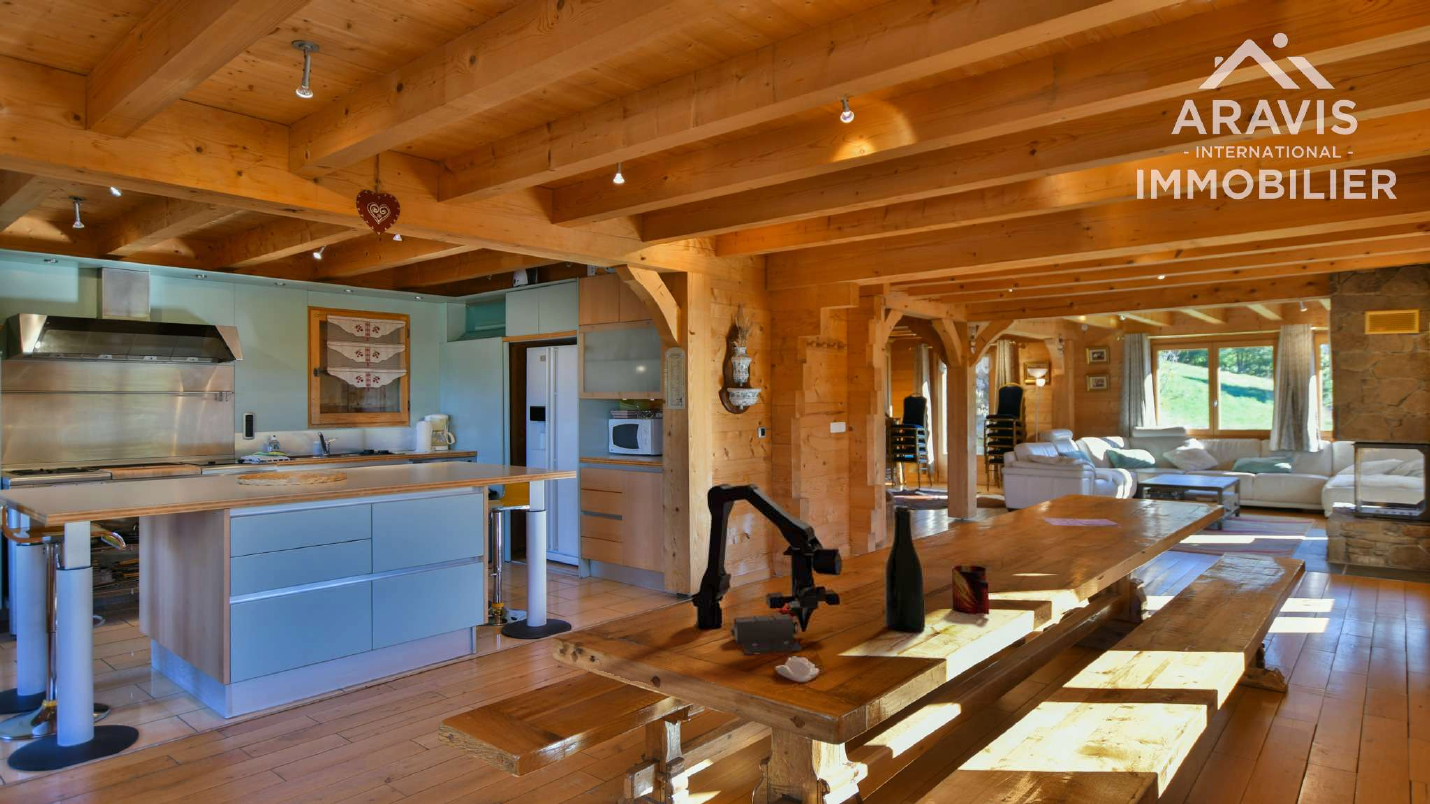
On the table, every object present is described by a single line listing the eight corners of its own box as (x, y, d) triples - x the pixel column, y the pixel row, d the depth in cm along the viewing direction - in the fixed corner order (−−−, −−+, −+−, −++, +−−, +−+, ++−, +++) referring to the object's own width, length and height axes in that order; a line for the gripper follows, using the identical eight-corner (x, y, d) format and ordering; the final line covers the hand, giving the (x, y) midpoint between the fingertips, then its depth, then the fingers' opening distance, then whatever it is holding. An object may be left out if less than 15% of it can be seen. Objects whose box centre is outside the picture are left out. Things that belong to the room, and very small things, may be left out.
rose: (771, 662, 178) (778, 648, 187) (771, 681, 178) (779, 667, 187) (815, 664, 175) (821, 650, 184) (816, 684, 175) (821, 669, 184)
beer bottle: (926, 623, 219) (923, 504, 219) (924, 634, 209) (921, 509, 209) (887, 621, 222) (884, 503, 222) (883, 632, 212) (880, 508, 212)
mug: (987, 619, 222) (986, 576, 222) (946, 609, 233) (945, 568, 233) (1007, 612, 228) (1006, 570, 228) (965, 603, 239) (964, 563, 239)
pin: (742, 640, 206) (741, 626, 206) (739, 636, 209) (739, 623, 209) (798, 636, 208) (798, 623, 208) (795, 632, 211) (795, 619, 211)
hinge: (743, 655, 196) (742, 631, 196) (729, 629, 218) (728, 608, 218) (801, 651, 198) (801, 627, 198) (782, 625, 220) (781, 605, 220)
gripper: (773, 581, 200) (775, 643, 200) (845, 577, 203) (846, 638, 203) (765, 571, 211) (766, 630, 211) (833, 568, 214) (834, 626, 214)
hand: (803, 631), depth 210 cm, fingers closed
